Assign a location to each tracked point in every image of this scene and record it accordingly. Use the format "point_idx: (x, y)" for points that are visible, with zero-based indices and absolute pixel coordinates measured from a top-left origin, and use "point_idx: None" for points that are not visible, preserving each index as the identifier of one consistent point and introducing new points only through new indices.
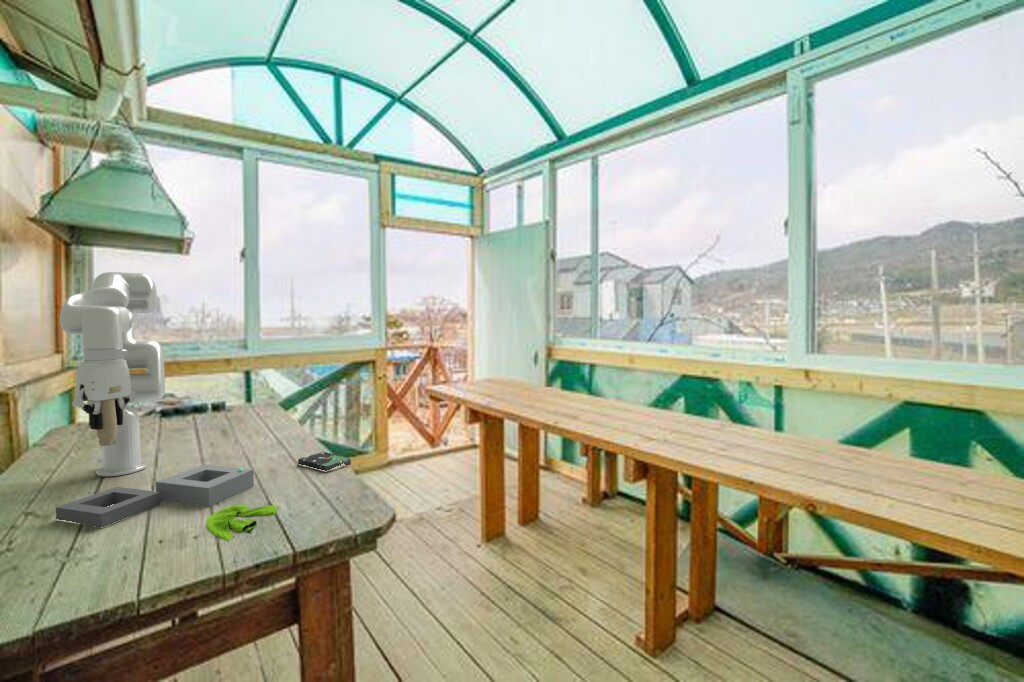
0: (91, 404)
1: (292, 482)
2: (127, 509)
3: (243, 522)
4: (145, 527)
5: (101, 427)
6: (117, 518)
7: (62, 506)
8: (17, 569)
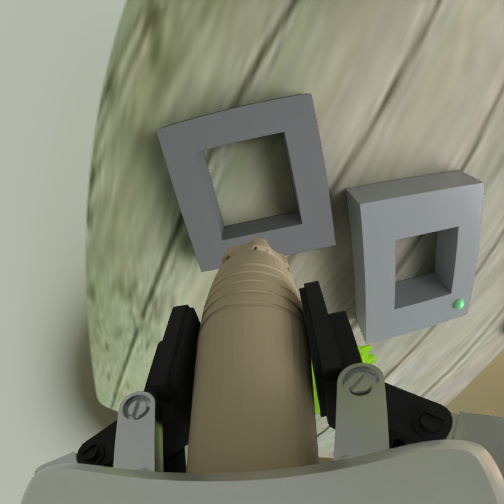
0: (145, 464)
1: (469, 327)
2: None
3: (315, 409)
4: None
5: None
6: None
7: (167, 138)
8: (94, 299)
